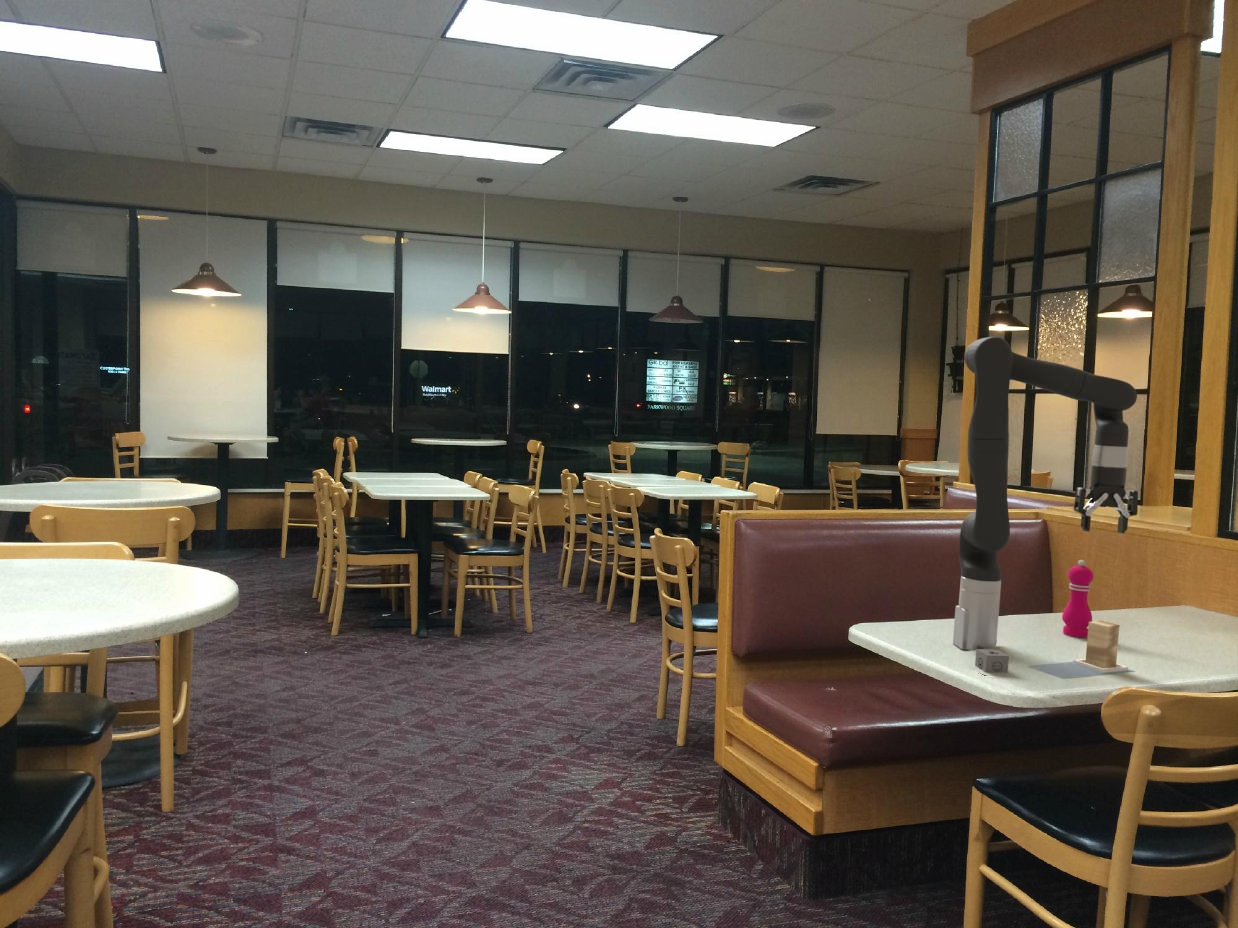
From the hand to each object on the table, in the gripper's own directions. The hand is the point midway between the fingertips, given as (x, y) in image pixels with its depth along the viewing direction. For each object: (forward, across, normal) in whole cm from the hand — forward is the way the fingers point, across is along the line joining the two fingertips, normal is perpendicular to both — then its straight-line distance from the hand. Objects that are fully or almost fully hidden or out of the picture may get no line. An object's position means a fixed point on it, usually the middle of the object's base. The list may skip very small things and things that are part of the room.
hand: (1103, 531), depth 231 cm
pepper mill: (+30, +6, +21) cm, 37 cm away
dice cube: (+30, -34, -22) cm, 50 cm away
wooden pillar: (+29, -6, -16) cm, 34 cm away
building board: (+30, -12, -18) cm, 37 cm away
